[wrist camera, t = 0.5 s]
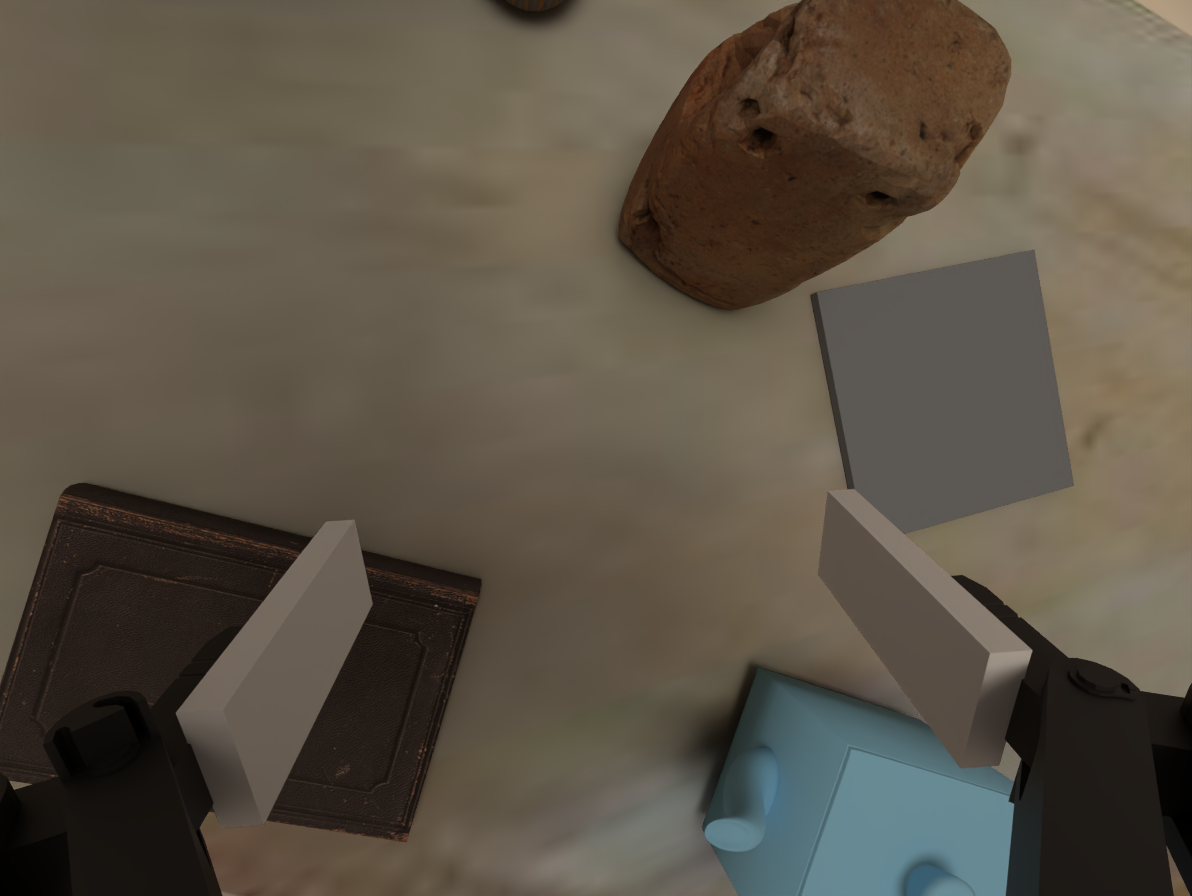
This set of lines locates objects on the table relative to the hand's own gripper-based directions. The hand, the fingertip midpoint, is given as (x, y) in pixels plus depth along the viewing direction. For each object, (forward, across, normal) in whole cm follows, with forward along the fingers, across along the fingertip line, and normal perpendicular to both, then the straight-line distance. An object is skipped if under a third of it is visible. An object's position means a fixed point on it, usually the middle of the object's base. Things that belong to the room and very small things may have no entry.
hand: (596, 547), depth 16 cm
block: (+27, +8, +7) cm, 29 cm away
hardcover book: (+16, -20, -16) cm, 30 cm away
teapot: (+16, +13, -27) cm, 34 cm away
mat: (+26, +27, -4) cm, 38 cm away
